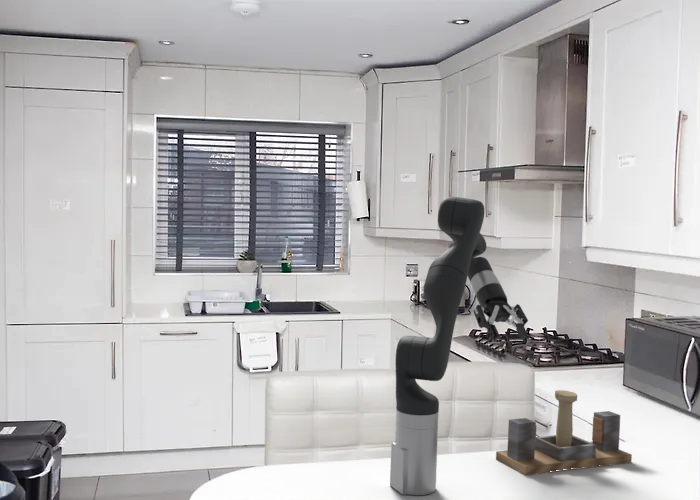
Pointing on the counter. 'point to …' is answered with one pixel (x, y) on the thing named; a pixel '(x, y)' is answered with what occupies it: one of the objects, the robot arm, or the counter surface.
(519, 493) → the counter surface
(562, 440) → the handle
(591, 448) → the brown and grey holder
